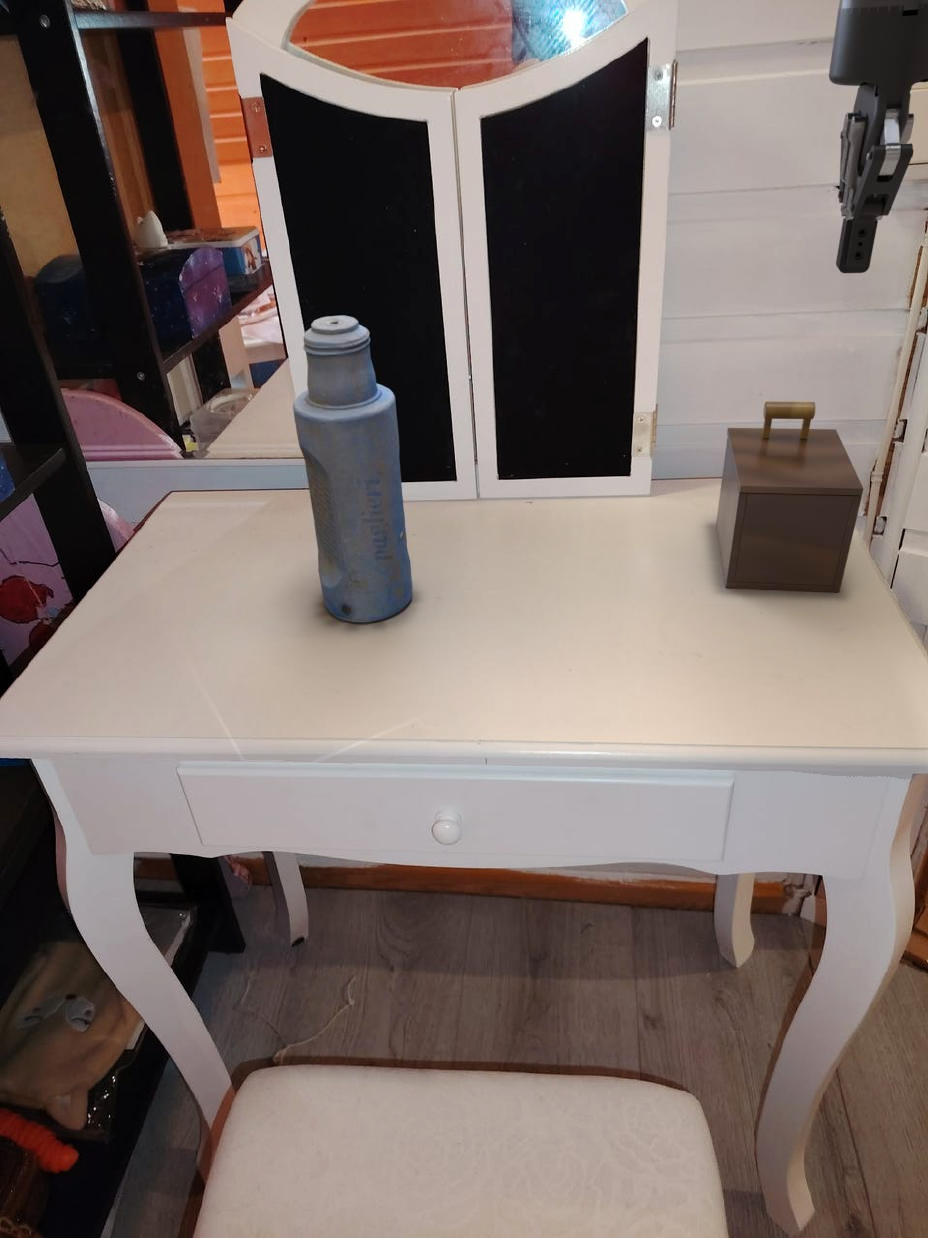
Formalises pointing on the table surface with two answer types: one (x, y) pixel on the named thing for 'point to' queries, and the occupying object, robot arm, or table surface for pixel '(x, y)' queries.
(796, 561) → the chest
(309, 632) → the table surface
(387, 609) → the bottle
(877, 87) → the robot arm
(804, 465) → the lid
